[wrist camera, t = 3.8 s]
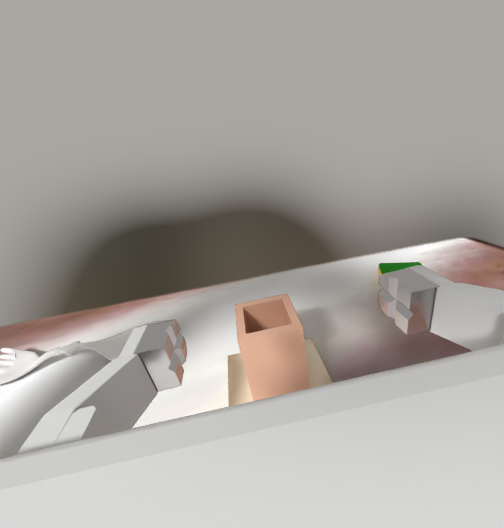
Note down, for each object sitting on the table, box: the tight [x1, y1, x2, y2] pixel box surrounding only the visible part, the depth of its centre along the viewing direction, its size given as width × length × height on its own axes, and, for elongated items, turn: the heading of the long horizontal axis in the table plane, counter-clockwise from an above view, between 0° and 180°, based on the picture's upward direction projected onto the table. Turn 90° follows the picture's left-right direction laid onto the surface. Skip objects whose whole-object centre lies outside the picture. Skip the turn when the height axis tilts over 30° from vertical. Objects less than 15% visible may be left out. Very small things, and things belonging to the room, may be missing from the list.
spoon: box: [0, 321, 163, 384], centre depth 41 cm, size 9×32×4 cm, turn 96°
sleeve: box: [235, 294, 310, 401], centre depth 26 cm, size 6×6×10 cm
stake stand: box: [228, 329, 333, 406], centre depth 27 cm, size 12×12×8 cm
